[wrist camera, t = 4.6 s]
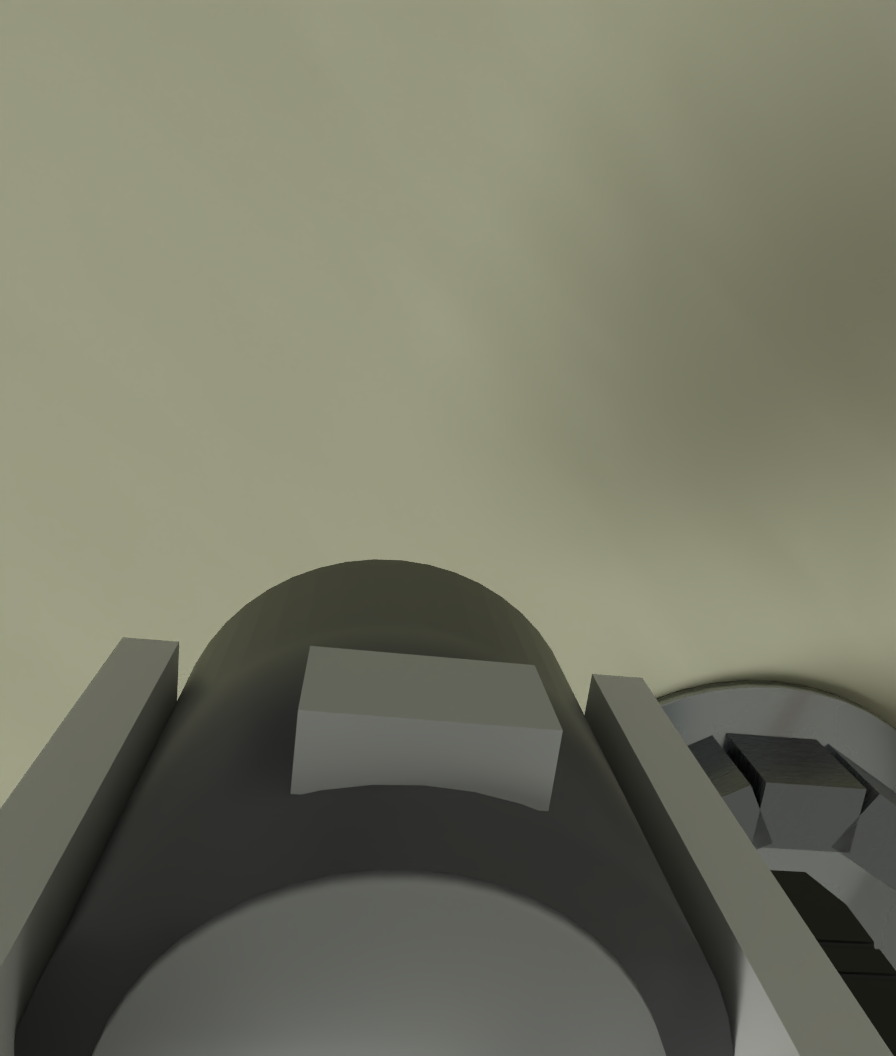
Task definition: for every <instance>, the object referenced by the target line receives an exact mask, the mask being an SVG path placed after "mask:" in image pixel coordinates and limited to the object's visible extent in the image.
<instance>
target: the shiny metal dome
mask: <svg viewBox="0 0 896 1056" xmlns="http://www.w3.org/2000/svg"><path fill="white" fill-rule="evenodd" d="M657 701H658V702H659V704H660V706H661V707H662V709H663V710H664V712H665V713H666V715H667V716H668V718H669V719H670V721H671V722H672V724H673V725H674V727H675V728H676V730H677V731H678V733H679V734H680V736H681V737H682V739H683V740H684V742H685V743H686V745H687V746H688V748H689V749H690V751H691V752H692V754H693V755H694V757H695V758H696V760H697V761H698V763H699V764H700V766H701V767H702V769H703V770H704V772H705V773H706V775H707V776H708V778H709V779H710V781H711V782H712V784H713V785H714V787H715V788H716V790H717V791H718V793H719V794H720V796H721V797H722V799H723V800H724V802H725V803H726V805H727V806H728V808H729V809H730V811H731V812H732V814H733V815H734V817H735V818H736V820H737V821H738V823H739V824H740V826H741V827H742V829H743V830H744V832H745V833H746V835H747V836H748V838H749V839H750V841H751V842H752V844H753V845H754V847H755V848H756V850H757V851H758V853H759V854H760V856H761V857H762V859H763V860H764V862H765V863H766V865H767V866H768V868H769V869H770V870H779V871H797V872H806V873H807V874H809V875H810V876H811V877H812V878H814V879H815V880H816V881H817V882H819V883H820V884H821V885H822V886H824V887H825V888H826V889H827V890H829V891H830V892H831V893H832V894H834V895H835V896H836V897H837V898H839V899H840V900H841V901H842V902H844V903H845V904H846V905H847V906H848V908H849V909H850V910H851V912H852V913H853V914H854V916H855V917H856V918H857V920H858V921H859V922H860V924H861V925H862V926H863V928H864V929H865V930H866V932H867V933H868V934H869V936H870V937H871V938H872V940H873V941H874V947H875V949H880V950H881V952H882V953H883V954H884V956H885V957H886V958H887V960H888V961H889V962H890V964H891V965H892V966H893V968H894V969H895V970H896V730H895V729H894V728H892V727H891V726H890V725H889V724H888V723H886V722H885V721H884V720H882V719H881V718H879V717H877V716H876V715H874V714H873V713H871V712H870V711H868V710H866V709H865V708H863V707H862V706H860V705H857V704H855V703H853V702H851V701H849V700H846V699H844V698H842V697H840V696H837V695H835V694H832V693H829V692H825V691H822V690H818V689H815V688H811V687H808V686H803V685H796V684H790V683H783V682H776V681H734V682H725V683H716V684H708V685H704V686H699V687H695V688H691V689H686V690H682V691H677V692H675V693H672V694H669V695H666V696H663V697H661V698H658V699H657Z"/></svg>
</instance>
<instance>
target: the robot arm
mask: <svg viewBox="0 0 896 1056" xmlns="http://www.w3.org/2000/svg"><path fill="white" fill-rule="evenodd" d="M178 658H179V642H174V641H162V640H149V639H136V638H122V639H121V641H120V642H119V643H118V645H117V646H116V648H115V649H114V650H113V652H112V653H111V655H110V656H109V657H108V659H107V660H106V662H105V663H104V664H103V666H102V667H101V669H100V670H99V671H98V673H97V674H96V676H95V677H94V678H93V680H92V681H91V683H90V684H89V685H88V687H87V688H86V690H85V691H84V692H83V694H82V695H81V697H80V698H79V699H78V701H77V702H76V704H75V705H74V706H73V708H72V709H71V711H70V712H69V714H68V715H67V716H66V718H65V719H64V721H63V722H62V723H61V725H60V726H59V728H58V729H57V730H56V732H55V733H54V735H53V736H52V737H51V739H50V740H49V742H48V743H47V744H46V746H45V747H44V749H43V750H42V751H41V753H40V754H39V756H38V757H37V758H36V760H35V761H34V763H33V764H32V765H31V767H30V768H29V770H28V771H27V772H26V774H25V775H24V777H23V778H22V779H21V781H20V782H19V784H18V785H17V786H16V788H15V789H14V791H13V792H12V793H11V795H10V796H9V798H8V799H7V800H6V802H5V803H4V805H3V806H2V807H1V809H0V1056H14V1039H15V1036H16V1032H17V1029H18V1026H19V1024H20V1022H21V1020H22V1017H23V1015H24V1013H25V1011H26V1008H27V1006H28V1004H29V1002H30V999H31V997H32V995H33V993H34V990H35V988H36V986H37V984H38V982H39V980H40V978H41V976H42V974H43V972H44V970H45V968H46V966H47V964H48V962H49V960H50V958H51V956H52V954H53V952H54V950H55V948H56V946H57V944H58V942H59V940H60V938H61V936H62V934H63V932H64V930H65V928H66V926H67V924H68V922H69V919H70V917H71V915H72V913H73V911H74V909H75V907H76V905H77V903H78V901H79V899H80V897H81V895H82V893H83V891H84V889H85V887H86V885H87V883H88V881H89V879H90V877H91V875H92V873H93V871H94V869H95V867H96V865H97V863H98V861H99V859H100V857H101V855H102V853H103V851H104V849H105V847H106V845H107V843H108V840H109V838H110V836H111V834H112V832H113V830H114V828H115V826H116V824H117V822H118V820H119V818H120V816H121V814H122V812H123V810H124V808H125V806H126V804H127V802H128V800H129V798H130V796H131V794H132V792H133V790H134V788H135V786H136V784H137V782H138V780H139V778H140V776H141V774H142V772H143V770H144V768H145V766H146V764H147V761H148V759H149V757H150V755H151V753H152V751H153V749H154V747H155V745H156V743H157V741H158V739H159V737H160V735H161V733H162V731H163V729H164V727H165V725H166V723H167V721H168V719H169V717H170V715H171V713H172V711H173V709H174V707H175V705H176V703H177V683H178ZM585 718H586V720H587V722H588V724H589V726H590V728H591V730H592V732H593V734H594V736H595V738H596V740H597V742H598V744H599V746H600V748H601V750H602V752H603V754H604V756H605V758H606V760H607V762H608V764H609V766H610V768H611V770H612V772H613V774H614V776H615V778H616V780H617V782H618V784H619V786H620V788H621V790H622V792H623V794H624V796H625V798H626V800H627V802H628V804H629V806H630V808H631V810H632V812H633V814H634V816H635V818H636V820H637V822H638V824H639V826H640V828H641V830H642V832H643V834H644V836H645V838H646V840H647V842H648V844H649V846H650V848H651V850H652V852H653V854H654V856H655V858H656V860H657V862H658V864H659V866H660V868H661V870H662V872H663V874H664V876H665V878H666V880H667V882H668V884H669V886H670V888H671V890H672V892H673V894H674V896H675V898H676V900H677V902H678V904H679V906H680V908H681V910H682V912H683V914H684V916H685V918H686V920H687V922H688V924H689V926H690V928H691V930H692V932H693V934H694V936H695V938H696V940H697V942H698V944H699V946H700V948H701V950H702V952H703V954H704V956H705V958H706V960H707V962H708V964H709V966H710V968H711V970H712V972H713V974H714V976H715V978H716V980H717V982H718V986H719V989H720V992H721V995H722V998H723V1002H724V1005H725V1008H726V1011H727V1014H728V1018H729V1024H730V1031H731V1038H732V1046H733V1053H734V1056H896V970H895V969H894V968H893V966H892V965H891V964H890V962H889V961H888V960H887V958H886V957H885V956H884V954H883V953H882V952H881V950H880V949H875V947H874V941H873V940H872V938H871V937H870V936H869V934H868V933H867V932H866V930H865V929H864V928H863V926H862V925H861V924H860V922H859V921H858V920H857V918H856V917H855V916H854V914H853V913H852V912H851V910H850V909H849V908H848V906H847V905H846V904H845V903H844V902H842V901H841V900H840V899H839V898H837V897H836V896H835V895H834V894H832V893H831V892H830V891H829V890H827V889H826V888H825V887H824V886H822V885H821V884H820V883H819V882H817V881H816V880H815V879H814V878H812V877H811V876H810V875H809V874H807V873H806V872H797V871H779V870H770V869H769V868H768V866H767V865H766V863H765V862H764V860H763V859H762V857H761V856H760V854H759V853H758V851H757V850H756V848H755V847H754V845H753V844H752V842H751V841H750V839H749V838H748V836H747V835H746V833H745V832H744V830H743V829H742V827H741V826H740V824H739V823H738V821H737V820H736V818H735V817H734V815H733V814H732V812H731V811H730V809H729V808H728V806H727V805H726V803H725V802H724V800H723V799H722V797H721V796H720V794H719V793H718V791H717V790H716V788H715V787H714V785H713V784H712V782H711V781H710V779H709V778H708V776H707V775H706V773H705V772H704V770H703V769H702V767H701V766H700V764H699V763H698V761H697V760H696V758H695V757H694V755H693V754H692V752H691V751H690V749H689V748H688V746H687V745H686V743H685V742H684V740H683V739H682V737H681V736H680V734H679V733H678V731H677V730H676V728H675V727H674V725H673V724H672V722H671V721H670V719H669V718H668V716H667V715H666V713H665V712H664V710H663V709H662V707H661V706H660V704H659V702H658V701H657V699H656V698H655V696H654V695H653V693H652V692H651V690H650V689H649V687H648V686H647V684H646V683H645V681H644V680H643V678H636V677H623V676H610V675H597V674H592V678H591V683H590V689H589V694H588V700H587V705H586V711H585Z"/></svg>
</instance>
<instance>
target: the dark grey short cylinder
mask: <svg viewBox="0 0 896 1056" xmlns="http://www.w3.org/2000/svg"><path fill="white" fill-rule="evenodd" d="M14 1056H734V1053H733V1046H732V1038H731V1031H730V1024H729V1018H728V1014H727V1011H726V1008H725V1005H724V1002H723V998H722V995H721V992H720V989H719V986H718V982H717V980H716V978H715V976H714V974H713V972H712V970H711V968H710V966H709V964H708V962H707V960H706V958H705V956H704V954H703V952H702V950H701V948H700V946H699V944H698V942H697V940H696V938H695V936H694V934H693V932H692V930H691V928H690V926H689V924H688V922H687V920H686V918H685V916H684V914H683V912H682V910H681V908H680V906H679V904H678V902H677V900H676V898H675V896H674V894H673V892H672V890H671V888H670V886H669V884H668V882H667V880H666V878H665V876H664V874H663V872H662V870H661V868H660V866H659V864H658V862H657V860H656V858H655V856H654V854H653V852H652V850H651V848H650V846H649V844H648V842H647V840H646V838H645V836H644V834H643V832H642V830H641V828H640V826H639V824H638V822H637V820H636V818H635V816H634V814H633V812H632V810H631V808H630V806H629V804H628V802H627V800H626V798H625V796H624V794H623V792H622V790H621V788H620V786H619V784H618V782H617V780H616V778H615V776H614V774H613V772H612V770H611V768H610V766H609V764H608V762H607V760H606V758H605V756H604V754H603V752H602V750H601V748H600V746H599V744H598V742H597V740H596V738H595V736H594V734H593V732H592V730H591V728H590V726H589V724H588V722H587V720H586V718H585V716H584V714H583V712H582V710H581V708H580V706H579V704H578V702H577V700H576V698H575V696H574V694H573V692H572V690H571V688H570V686H569V684H568V682H567V680H566V678H565V676H564V674H563V672H562V670H561V668H560V666H559V664H558V662H557V660H556V658H555V656H554V654H553V652H552V650H551V649H550V647H549V646H548V644H547V643H546V642H545V640H544V639H543V637H542V636H541V634H540V633H539V631H538V630H537V629H536V628H535V627H534V626H533V625H532V624H531V623H530V622H529V621H528V620H527V619H526V617H525V616H524V615H523V614H522V613H521V612H519V611H518V610H517V609H516V608H515V607H513V606H512V605H511V604H510V603H508V602H507V601H506V600H505V599H503V598H502V597H501V596H499V595H498V594H496V593H494V592H493V591H491V590H489V589H488V588H486V587H484V586H483V585H481V584H480V583H477V582H475V581H473V580H471V579H468V578H466V577H464V576H462V575H459V574H457V573H455V572H451V571H448V570H445V569H441V568H438V567H434V566H431V565H427V564H420V563H414V562H408V561H402V560H363V561H352V562H344V563H340V564H335V565H330V566H326V567H321V568H318V569H315V570H312V571H309V572H306V573H303V574H301V575H298V576H295V577H292V578H290V579H288V580H286V581H284V582H282V583H280V584H278V585H277V586H275V587H273V588H271V589H269V590H267V591H266V592H264V593H263V594H261V595H260V596H258V597H257V598H255V599H254V600H252V601H251V602H249V603H248V604H246V605H245V606H244V607H243V608H242V609H241V610H240V611H239V612H237V613H236V614H235V615H234V616H233V617H232V618H231V619H230V620H229V621H227V622H226V623H225V625H224V626H223V627H222V628H221V629H220V630H219V632H218V633H217V634H216V635H215V636H214V638H213V639H212V640H211V641H210V642H209V644H208V645H207V647H206V648H205V650H204V652H203V653H202V655H201V656H200V658H199V659H198V661H197V663H196V664H195V666H194V668H193V670H192V672H191V674H190V676H189V678H188V680H187V682H186V685H185V687H184V689H183V691H182V693H181V695H180V697H179V699H178V701H177V703H176V705H175V707H174V709H173V711H172V713H171V715H170V717H169V719H168V721H167V723H166V725H165V727H164V729H163V731H162V733H161V735H160V737H159V739H158V741H157V743H156V745H155V747H154V749H153V751H152V753H151V755H150V757H149V759H148V761H147V764H146V766H145V768H144V770H143V772H142V774H141V776H140V778H139V780H138V782H137V784H136V786H135V788H134V790H133V792H132V794H131V796H130V798H129V800H128V802H127V804H126V806H125V808H124V810H123V812H122V814H121V816H120V818H119V820H118V822H117V824H116V826H115V828H114V830H113V832H112V834H111V836H110V838H109V840H108V843H107V845H106V847H105V849H104V851H103V853H102V855H101V857H100V859H99V861H98V863H97V865H96V867H95V869H94V871H93V873H92V875H91V877H90V879H89V881H88V883H87V885H86V887H85V889H84V891H83V893H82V895H81V897H80V899H79V901H78V903H77V905H76V907H75V909H74V911H73V913H72V915H71V917H70V919H69V922H68V924H67V926H66V928H65V930H64V932H63V934H62V936H61V938H60V940H59V942H58V944H57V946H56V948H55V950H54V952H53V954H52V956H51V958H50V960H49V962H48V964H47V966H46V968H45V970H44V972H43V974H42V976H41V978H40V980H39V982H38V984H37V986H36V988H35V990H34V993H33V995H32V997H31V999H30V1002H29V1004H28V1006H27V1008H26V1011H25V1013H24V1015H23V1017H22V1020H21V1022H20V1024H19V1026H18V1029H17V1032H16V1036H15V1039H14Z"/></svg>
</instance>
